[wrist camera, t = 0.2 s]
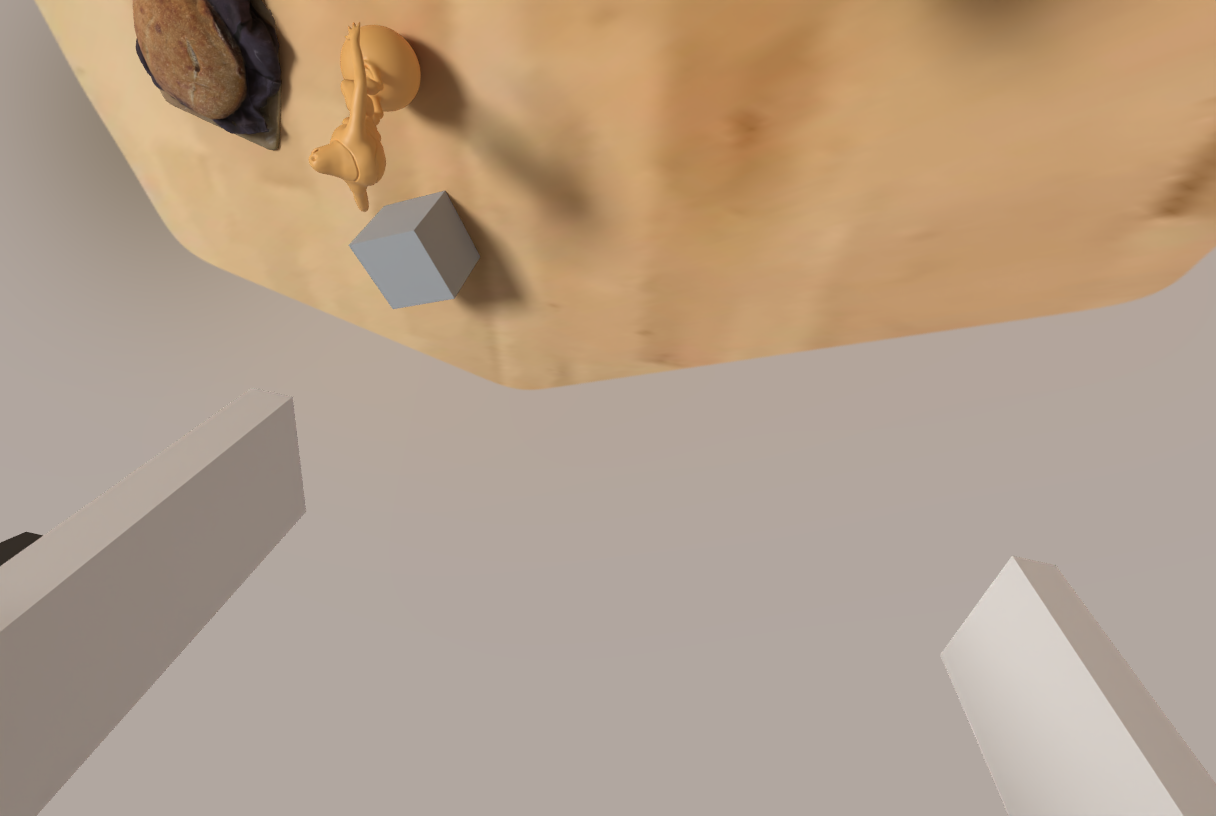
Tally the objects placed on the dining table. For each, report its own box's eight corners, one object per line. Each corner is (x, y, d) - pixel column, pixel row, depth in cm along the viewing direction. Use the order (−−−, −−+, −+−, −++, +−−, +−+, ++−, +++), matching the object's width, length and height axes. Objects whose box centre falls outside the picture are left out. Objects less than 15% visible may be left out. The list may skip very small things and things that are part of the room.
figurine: (360, -46, 29) (203, 23, 21) (476, 3, 30) (365, 88, 22) (364, 116, 35) (242, 217, 27) (459, 154, 36) (368, 263, 28)
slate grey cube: (445, 190, 38) (413, 230, 35) (480, 255, 41) (454, 298, 38) (384, 205, 40) (348, 245, 37) (422, 267, 43) (393, 309, 40)
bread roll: (291, 153, 39) (259, 179, 37) (159, 91, 38) (116, 114, 35) (289, -23, 31) (249, -4, 29) (123, -110, 30) (65, -98, 27)
